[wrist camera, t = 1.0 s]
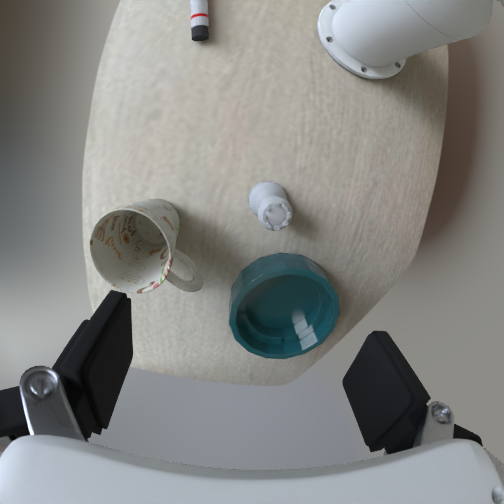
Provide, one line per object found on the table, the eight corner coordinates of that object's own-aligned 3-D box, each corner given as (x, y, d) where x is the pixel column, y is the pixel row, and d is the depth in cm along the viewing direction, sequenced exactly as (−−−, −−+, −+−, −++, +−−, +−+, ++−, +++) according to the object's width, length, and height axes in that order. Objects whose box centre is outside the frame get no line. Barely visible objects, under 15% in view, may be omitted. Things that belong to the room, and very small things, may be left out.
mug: (150, 174, 30) (116, 189, 20) (229, 240, 33) (227, 279, 24) (114, 226, 32) (77, 257, 22) (188, 285, 35) (175, 332, 26)
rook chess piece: (288, 183, 31) (305, 195, 24) (282, 219, 33) (296, 242, 25) (250, 178, 31) (255, 189, 23) (245, 215, 32) (248, 237, 25)
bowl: (236, 245, 34) (236, 262, 29) (338, 257, 35) (352, 274, 30) (225, 332, 39) (224, 355, 34) (314, 337, 40) (322, 359, 35)
